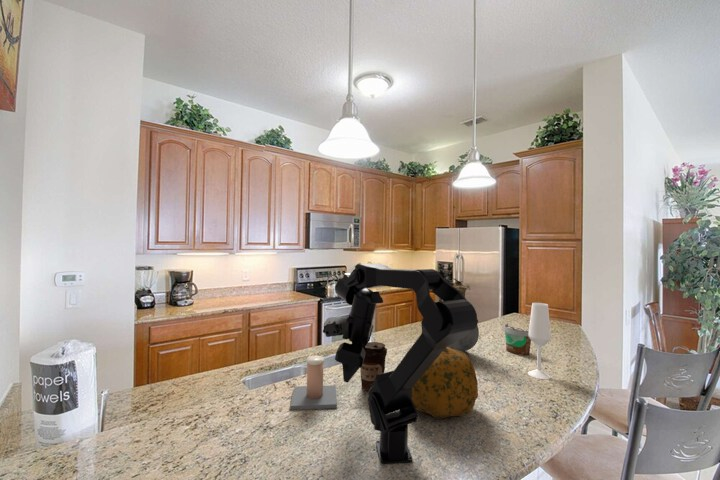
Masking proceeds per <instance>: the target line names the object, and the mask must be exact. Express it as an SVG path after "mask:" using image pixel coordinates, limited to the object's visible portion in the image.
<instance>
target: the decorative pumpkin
mask: <svg viewBox="0 0 720 480" xmlns="http://www.w3.org/2000/svg"><path fill="white" fill-rule="evenodd" d="M406 354H407V352H406V353H405V355H406ZM412 394H413V395H412V398H411V399H412V401H413V403H414V405H415V407H416V409H417V411H419V412H422V413H427V414H428V415H431V416H432V417H434V419H435V418H436V419H438V420H441V419H445V418H449V417H461V416H465V415H468V414H469V413H471V412H472V410H473V409H474V407H475V403H476V400H477V399H478V397H479V386H478V379H477V375H476V369H475V367H474V363H473V361H472V360H471V358H470V357H469V356H468V354H467V355H466V354H465V353H464V352H462V351H458V350H454V349H451V348H449V347H446V348H445V349H444V350H443V351H442V353H441V354H440V355H439V356H438V357H437V359H436V360H435V361H434V362H433V363H432V365H431V366H430V367H429V368H428V369H427V371H426V372H425V373H424V374H423V375H422V376H421V378H420V379H419V380H418V381H417V382H416V384H415V385H414V386H413V387H412Z"/></svg>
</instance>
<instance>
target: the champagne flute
mask: <svg viewBox="0 0 720 480" xmlns="http://www.w3.org/2000/svg"><path fill="white" fill-rule="evenodd" d="M549 312H550V310H549V304H548V303H544V302H532V304H531V310H530V317H529V326H528V327H529V328H528V331H529V333H528V336H529V338H530V339H531V343H533V344H534V345H535V346H537V347H536V348H537V352H536V353H537V355H536V369H533V370H529V371H528V372H527V374H528V375H529V376H530V377H532V378H536V379H538V380H539V379H540V380H549V379H550V378H551V376H550V375H549V374H548V373H547V372H545V371H544V370H542V347H544V346H546V345H547V344H549V342H550V341H551V339H552V335H551V334H552V332H551V331H552V330H551V324H550V323H551V322H550V313H549Z"/></svg>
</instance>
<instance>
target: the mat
mask: <svg viewBox="0 0 720 480" xmlns="http://www.w3.org/2000/svg"><path fill="white" fill-rule="evenodd" d="M336 387H337V386H336V384H335V385H334V384H333V385H330V384H329V385H323V396H322V397H320V398H318V399H310V398H308V397H307V396H306V393H307V385H301V386H300V385H299V386H294V388H293V392H292V397H291V401H290V406H289V410H296V411H297V410H319V409H322V410H323V409H325V410H326V409H338V401H337V400H338V399H337V388H336Z"/></svg>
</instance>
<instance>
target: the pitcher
mask: <svg viewBox="0 0 720 480" xmlns="http://www.w3.org/2000/svg"><path fill="white" fill-rule="evenodd" d="M452 279H453V280H454V281H455V282H453V281H451V282H450V281H449V284H451V285H452V286H453V287H455V288H456V289H457V290H459V291H460V292H461V293H462V295H463V296H464V297H465V298H466V293H467V290H469V291H471V290H472V288H471V286H470V285H466V284H465V285H464V284H463V281H462V280H458V279H457V278H454V277H453V278H452ZM440 301H443V300H442V299H441V298H439V297H438V302H440ZM479 337H480V330H479V325H478V324H477V326H476V328H475V329H474V330H473V331H472V332H470V333H469V334H468V335H466V336H465V337H463V338H462V339H460V340H458V341H456V342H454V343H453V344H451V345H449V346H447V347H449V348H451V349H454V350H458V351H462V352H464V353H465V354H466V355H467V356H468V355H469V354H468V352H467V351H469V350H471V349H473V348H474V346H476V344H477V342H478V340H479Z"/></svg>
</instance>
